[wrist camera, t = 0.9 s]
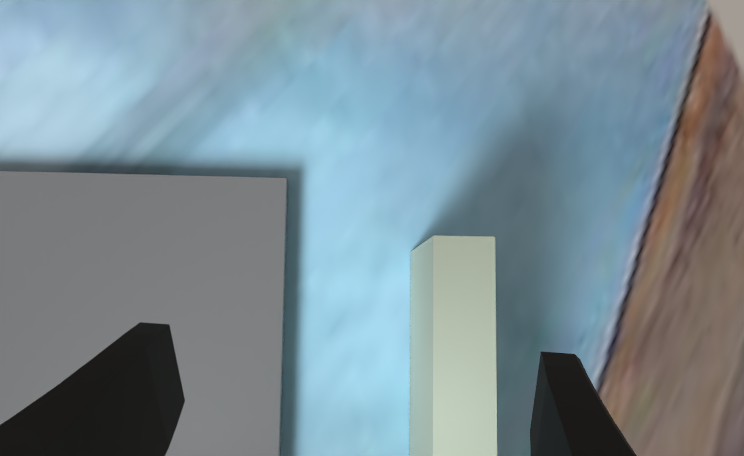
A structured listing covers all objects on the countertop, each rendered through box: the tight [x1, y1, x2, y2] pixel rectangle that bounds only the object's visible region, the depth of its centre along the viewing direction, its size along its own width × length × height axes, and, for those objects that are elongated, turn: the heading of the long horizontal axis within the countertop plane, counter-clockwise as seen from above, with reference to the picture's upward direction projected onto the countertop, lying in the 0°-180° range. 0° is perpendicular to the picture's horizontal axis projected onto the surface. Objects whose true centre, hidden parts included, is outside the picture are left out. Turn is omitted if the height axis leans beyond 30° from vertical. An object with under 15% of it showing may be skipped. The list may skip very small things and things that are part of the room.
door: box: [410, 235, 497, 456], centre depth 25 cm, size 14×4×6 cm, turn 179°
